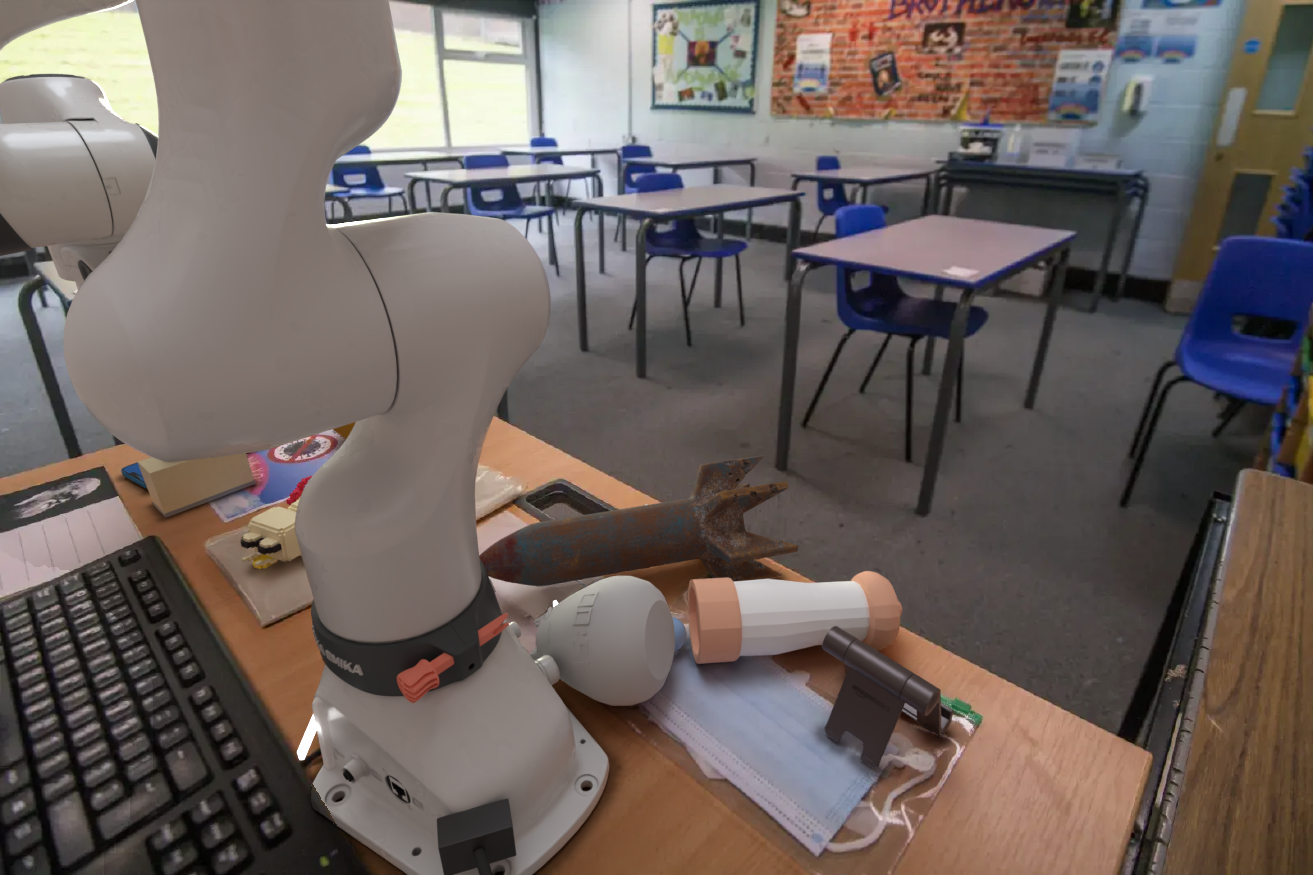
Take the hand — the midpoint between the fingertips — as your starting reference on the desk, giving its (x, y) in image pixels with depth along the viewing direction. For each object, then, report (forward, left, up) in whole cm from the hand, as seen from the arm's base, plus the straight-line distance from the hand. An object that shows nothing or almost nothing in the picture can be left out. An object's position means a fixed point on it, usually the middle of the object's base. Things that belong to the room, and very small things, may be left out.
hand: (151, 379), depth 77 cm
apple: (-1, -21, -16) cm, 27 cm away
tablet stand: (-77, -23, -16) cm, 82 cm away
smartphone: (+10, -4, -16) cm, 19 cm away
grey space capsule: (-62, -14, -9) cm, 64 cm away
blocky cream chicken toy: (-17, -10, -16) cm, 26 cm away
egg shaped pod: (-51, -19, -16) cm, 56 cm away
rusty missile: (-42, -11, -11) cm, 45 cm away
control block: (0, -1, -16) cm, 16 cm away
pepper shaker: (-61, -20, -12) cm, 65 cm away
